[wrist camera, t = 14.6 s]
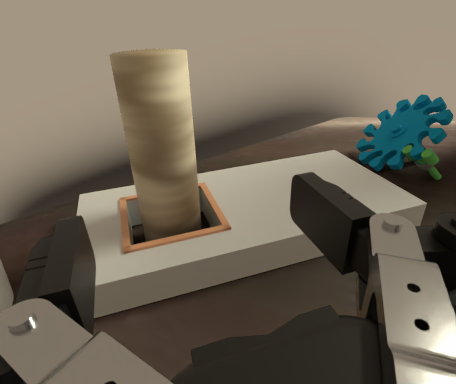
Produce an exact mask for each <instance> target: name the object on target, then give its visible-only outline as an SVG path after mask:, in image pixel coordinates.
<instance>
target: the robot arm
mask: <svg viewBox="0 0 456 384" xmlns="http://www.w3.org/2000/svg"><path fill="white" fill-rule="evenodd" d="M290 215H291V218H292V220H293V222H294V223H295V224H296V225H297V226H298V227H299V228H300V229H301V231H302V232H303V233H304V234H305V235H306V236H307V237H308V238H309V239H310V240H311V241H312V243H313V244H314V245H315V246H316V247H317V248H318V249H319V250H320V251H321V252H322V253H323V254H324V256H325V257H326V258H327V259H328V260H329V261H330V262H331V263H332V264H333V265H334V266H335V268H336V269H337V270H338V271H339V272H340V273H341V274H342V275H343V274H347V273H350V272H353V271H356V272H357V273H358V274H357V278H356V311H357V317H355V316H344V315H337V313H336V312H335V311H334V310H333V308H332V307H331V306H330V305H328V306H325V307H322V308H319V309H316V310H313V311H310V312H307V313H304V314H300V315H298V316H297V317H295V318H294V319H292V320H291V321H289V322H287V323H286V324H284V325H283V326H281V327H280V328H278V329H277V330H275V331H274V332H272V333H270V334H267V335H257V336H244V337H231V338H226V339H223V340H220V341H217V342H213V343H210V344H207V345H204V346H201V347H198V348H195V349H192V350H191V356H192V362H193V363H191V364H190V365H188V366H187V367H185V368H184V369H183V370H182V371H181V372H179V373H178V374H177V375H176V376H175V377H174V378H173V379H172V380H171V381H169V380H168V379H166V378H165V377H164V376H162V375H161V374H160V373H158V372H157V371H156V370H154V369H153V368H152V367H150V366H149V365H148V364H146V363H145V362H144V361H142V360H141V359H140V358H138V357H137V356H136V355H134V354H133V353H132V352H130V351H129V350H128V349H126V348H125V347H124V346H122V345H121V344H120V343H118V342H117V341H116V340H114V339H113V338H112V337H110V336H109V335H108V334H106V333H104V332H102V331H99V332H98V333H96V334H95V335H94V336H93V325H94V303H95V280H96V262H95V256H94V251H93V248H92V245H91V242H90V238H89V235H88V232H87V229H86V226H85V222H84V219H83V217H82V216H81V215H80V216H74V217H69V218H64V219H59V220H57V221H56V225H55V229H54V233H53V236H48V237H43V238H42V239H41V240H40V241H39V242H38V243H37V244H36V245H35V246H34V247H33V248H32V250H31V253H30V257H29V260H28V261H29V262H28V263H27V266H26V269H25V270H26V272H24V275H23V278H22V281H21V284H20V287H19V290H18V293H17V296H16V299H15V303H14V305H13V306H11V307H9V308H8V309H6V310H5V311H4V312H2V313H1V314H0V384H456V213H455V212H444V213H440V214H438V215H437V217H436V220H435V222H434V225H433V226H415V225H414V224H413V223H412V222H411V221H409V220H408V219H406V218H404V217H402V216H399V215H395V214H391V213H379V214H376V213H375V212H374V211H372V210H371V209H369V208H368V207H367V206H365V205H364V204H363V203H361V202H360V201H358V200H357V199H356V198H353V196H351V195H350V194H349V193H346V191H344V190H343V189H342V188H340V187H339V186H337V185H335V184H332V183H330V182H327V181H324V180H323V179H322V178H320V177H319V176H318V175H316V174H315V173H313V172H308V173H302V174H297V175H294V176H293V178H292V183H291V196H290Z"/></svg>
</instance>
